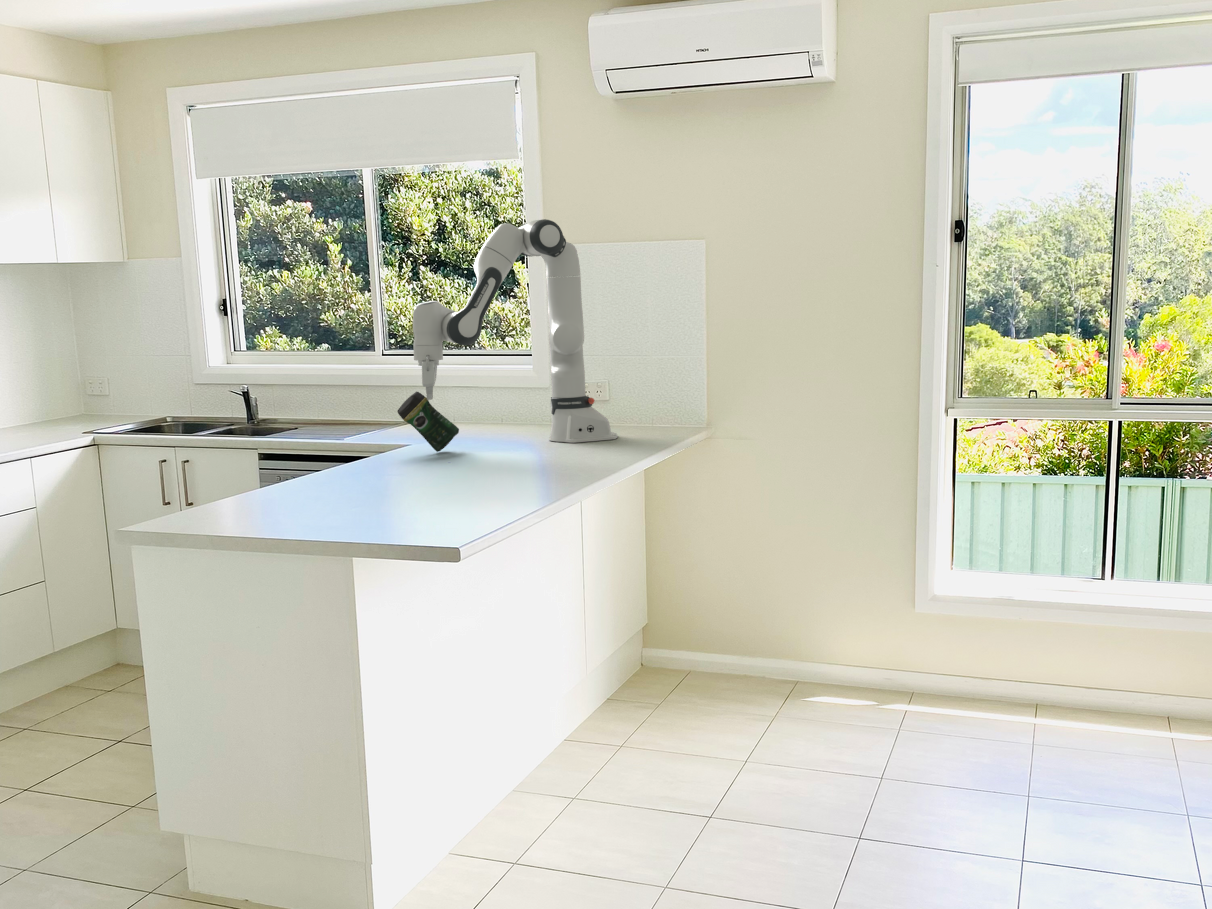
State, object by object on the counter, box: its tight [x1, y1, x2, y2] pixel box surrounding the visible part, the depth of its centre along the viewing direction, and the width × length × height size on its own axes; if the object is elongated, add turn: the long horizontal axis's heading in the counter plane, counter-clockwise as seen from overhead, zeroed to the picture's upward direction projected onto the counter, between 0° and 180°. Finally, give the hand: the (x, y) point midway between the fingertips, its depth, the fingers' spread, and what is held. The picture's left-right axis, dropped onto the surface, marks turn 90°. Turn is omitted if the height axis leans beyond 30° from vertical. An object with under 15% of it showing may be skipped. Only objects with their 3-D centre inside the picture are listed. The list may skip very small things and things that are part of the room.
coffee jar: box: [397, 391, 460, 453], centre depth 339 cm, size 10×8×19 cm
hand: (429, 399), depth 338 cm, fingers closed
